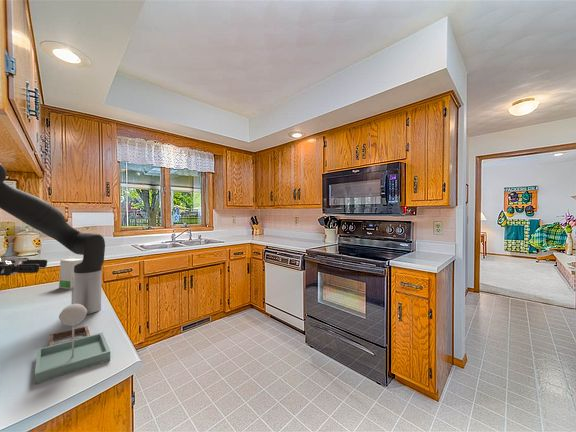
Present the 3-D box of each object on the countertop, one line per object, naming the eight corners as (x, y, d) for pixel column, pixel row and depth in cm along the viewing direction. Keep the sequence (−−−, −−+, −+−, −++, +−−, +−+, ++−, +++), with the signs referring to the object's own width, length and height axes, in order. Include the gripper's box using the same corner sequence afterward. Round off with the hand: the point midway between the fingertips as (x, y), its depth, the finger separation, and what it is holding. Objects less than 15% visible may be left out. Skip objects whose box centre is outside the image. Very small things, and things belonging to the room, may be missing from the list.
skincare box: (58, 288, 136) (59, 260, 136) (70, 284, 143) (71, 258, 143) (71, 289, 135) (71, 260, 135) (83, 285, 141) (83, 258, 141)
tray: (37, 357, 71) (37, 349, 71) (102, 340, 82) (102, 332, 82) (34, 384, 60) (34, 374, 60) (110, 359, 71) (110, 351, 71)
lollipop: (84, 348, 75) (84, 299, 75) (88, 355, 72) (89, 303, 72) (56, 357, 71) (57, 304, 71) (60, 365, 67) (60, 310, 67)
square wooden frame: (49, 340, 81) (49, 334, 81) (87, 331, 88) (87, 325, 88) (49, 352, 74) (49, 346, 74) (90, 341, 81) (90, 335, 81)
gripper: (-65, 253, 54) (38, 255, 63) (-32, 247, 66) (51, 249, 75) (-72, 288, 53) (33, 285, 62) (-38, 276, 65) (47, 274, 74)
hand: (43, 265), depth 69 cm, fingers open, 8 cm apart
